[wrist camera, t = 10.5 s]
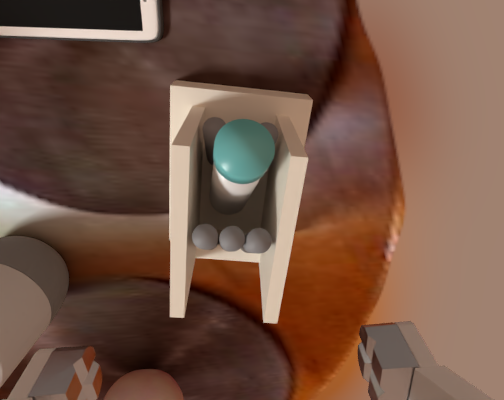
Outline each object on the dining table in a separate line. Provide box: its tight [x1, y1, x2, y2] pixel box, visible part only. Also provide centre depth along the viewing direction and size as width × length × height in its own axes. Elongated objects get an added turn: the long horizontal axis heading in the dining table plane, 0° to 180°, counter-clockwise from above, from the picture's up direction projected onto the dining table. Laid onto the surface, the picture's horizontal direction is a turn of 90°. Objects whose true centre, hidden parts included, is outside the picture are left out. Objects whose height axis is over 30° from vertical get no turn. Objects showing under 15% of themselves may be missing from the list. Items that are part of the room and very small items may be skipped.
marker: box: [209, 119, 275, 215], centre depth 25 cm, size 3×3×11 cm
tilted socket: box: [169, 80, 313, 323], centre depth 28 cm, size 14×11×12 cm
